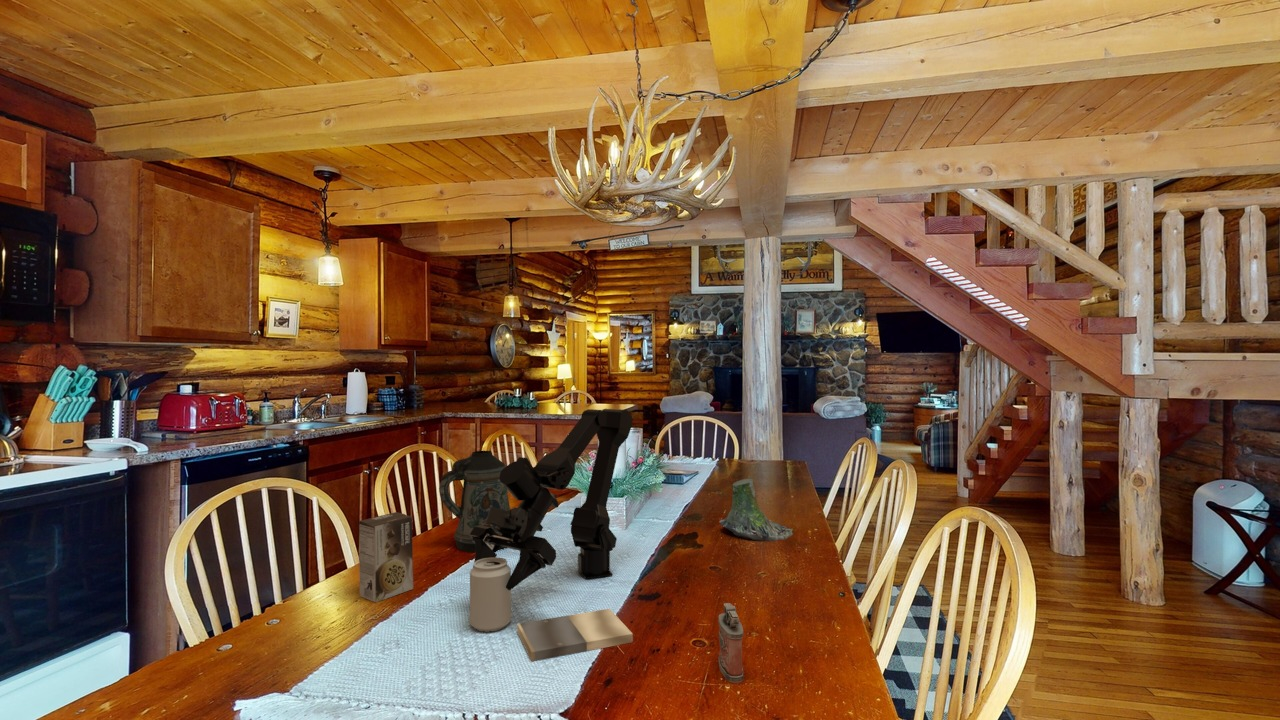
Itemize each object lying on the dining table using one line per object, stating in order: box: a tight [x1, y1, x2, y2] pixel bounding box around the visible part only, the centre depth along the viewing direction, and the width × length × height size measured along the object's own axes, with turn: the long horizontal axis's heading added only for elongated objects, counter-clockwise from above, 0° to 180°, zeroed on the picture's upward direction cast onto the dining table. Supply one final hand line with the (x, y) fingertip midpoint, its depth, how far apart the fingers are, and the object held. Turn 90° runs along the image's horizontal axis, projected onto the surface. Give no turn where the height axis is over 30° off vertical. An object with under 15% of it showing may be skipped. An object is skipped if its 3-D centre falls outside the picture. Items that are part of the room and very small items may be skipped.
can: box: [469, 556, 512, 633], centre depth 117 cm, size 8×8×12 cm
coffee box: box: [358, 511, 414, 603], centre depth 134 cm, size 9×6×16 cm
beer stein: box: [438, 450, 511, 554], centre depth 168 cm, size 16×19×25 cm
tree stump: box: [719, 478, 794, 542], centre depth 179 cm, size 18×20×18 cm
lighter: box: [718, 602, 744, 683], centre depth 101 cm, size 8×3×10 cm, turn 5°
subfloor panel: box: [516, 608, 634, 662], centre depth 112 cm, size 18×12×2 cm, turn 113°
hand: (489, 584), depth 117 cm, fingers open, 9 cm apart
